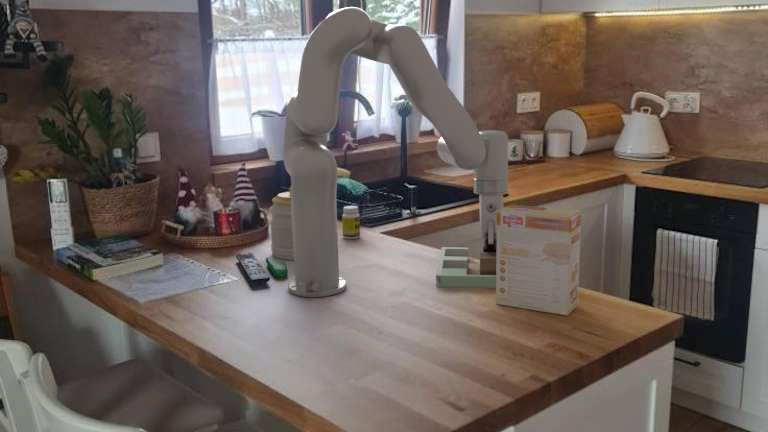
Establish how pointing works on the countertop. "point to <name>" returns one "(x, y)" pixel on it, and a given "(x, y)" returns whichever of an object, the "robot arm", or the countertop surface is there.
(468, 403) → the countertop surface
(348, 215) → the supplement bottle
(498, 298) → the coffeecake box
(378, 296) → the countertop surface
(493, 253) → the block
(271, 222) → the jar
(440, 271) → the trap box
